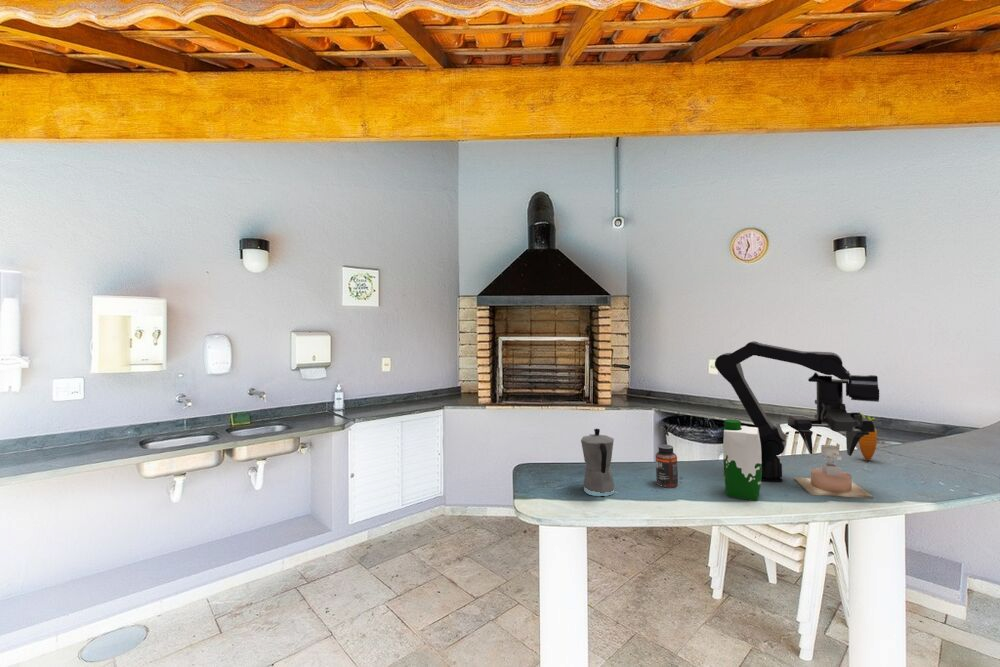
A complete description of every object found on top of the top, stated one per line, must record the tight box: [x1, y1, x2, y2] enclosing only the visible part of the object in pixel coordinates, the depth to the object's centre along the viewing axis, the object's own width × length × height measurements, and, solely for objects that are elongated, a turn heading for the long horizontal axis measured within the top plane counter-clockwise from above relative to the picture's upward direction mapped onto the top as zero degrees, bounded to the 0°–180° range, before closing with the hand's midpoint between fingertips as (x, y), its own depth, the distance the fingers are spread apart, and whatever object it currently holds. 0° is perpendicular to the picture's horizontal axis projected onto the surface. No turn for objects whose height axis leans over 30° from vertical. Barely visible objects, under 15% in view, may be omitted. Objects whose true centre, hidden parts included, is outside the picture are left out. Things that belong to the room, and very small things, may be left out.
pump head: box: [820, 444, 843, 465], centre depth 118 cm, size 4×7×5 cm, turn 165°
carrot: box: [858, 413, 878, 462], centre depth 139 cm, size 5×5×15 cm
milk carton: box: [722, 418, 762, 502], centre depth 117 cm, size 9×9×20 cm
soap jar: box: [810, 462, 853, 493], centre depth 119 cm, size 9×9×6 cm
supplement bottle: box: [655, 444, 679, 488], centre depth 126 cm, size 6×6×11 cm
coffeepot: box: [580, 428, 616, 493], centre depth 122 cm, size 15×9×18 cm, turn 0°
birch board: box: [793, 476, 873, 499], centre depth 119 cm, size 14×11×1 cm
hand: (829, 454), depth 119 cm, fingers open, 9 cm apart
